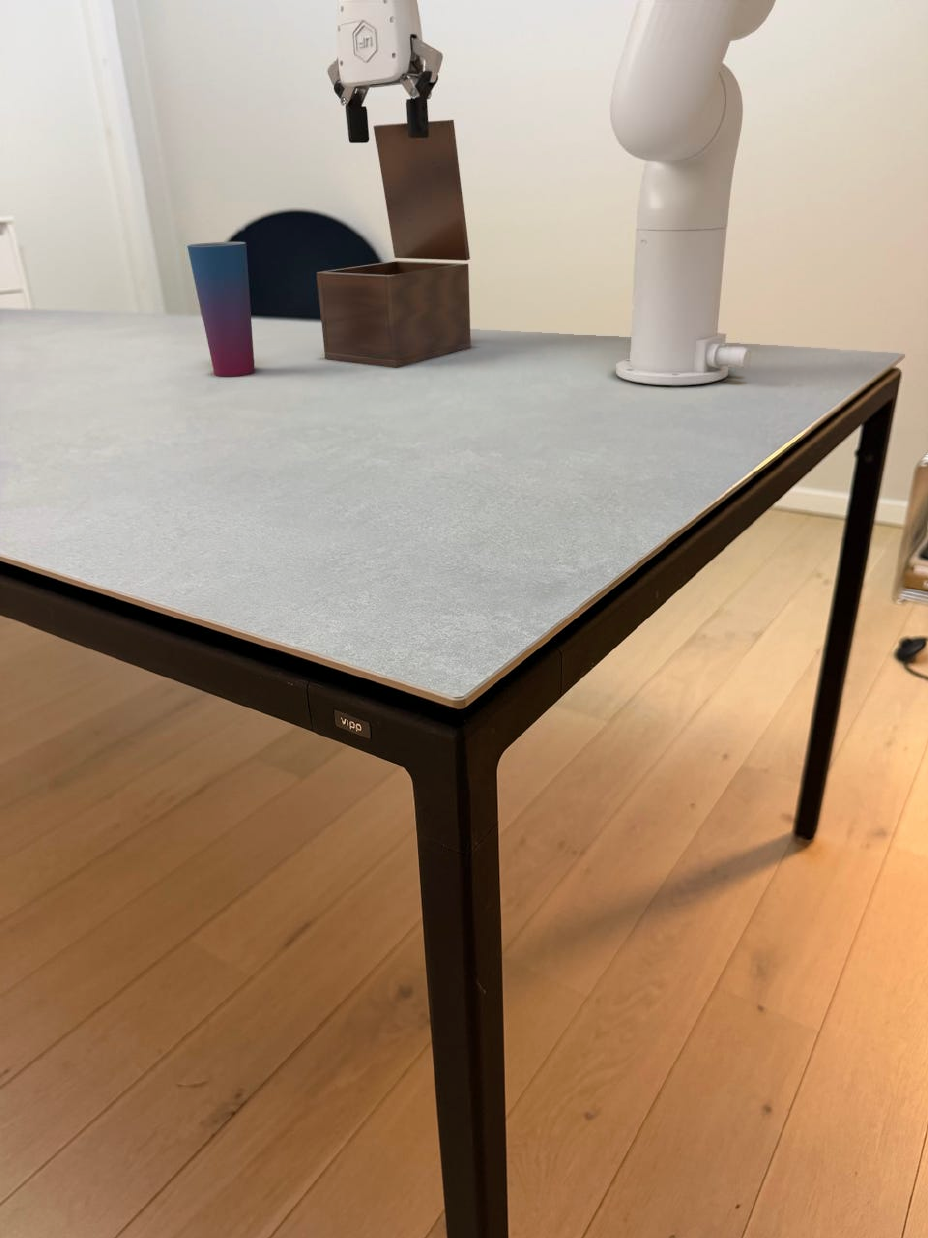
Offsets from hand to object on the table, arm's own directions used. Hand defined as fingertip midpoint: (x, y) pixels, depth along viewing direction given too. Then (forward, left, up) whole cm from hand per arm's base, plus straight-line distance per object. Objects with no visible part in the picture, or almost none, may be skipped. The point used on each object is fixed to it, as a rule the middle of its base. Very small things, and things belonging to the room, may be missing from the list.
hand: (388, 139), depth 113 cm
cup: (+10, +20, -26) cm, 34 cm away
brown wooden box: (0, 0, -26) cm, 26 cm away
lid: (0, -6, -6) cm, 9 cm away
